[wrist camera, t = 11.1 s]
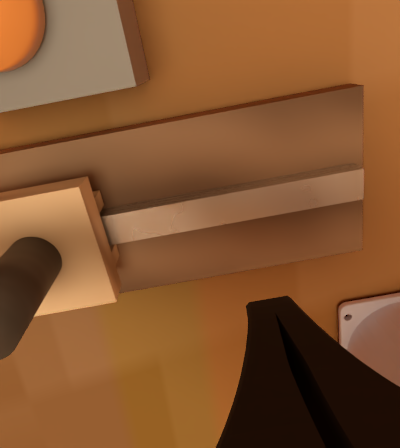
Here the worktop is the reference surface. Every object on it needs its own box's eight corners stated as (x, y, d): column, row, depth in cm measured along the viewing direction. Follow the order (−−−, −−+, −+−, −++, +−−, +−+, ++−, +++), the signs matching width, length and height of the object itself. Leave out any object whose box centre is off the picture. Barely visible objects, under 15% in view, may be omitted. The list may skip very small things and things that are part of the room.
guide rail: (353, 191, 19) (363, 199, 18) (-27, 260, 20) (-39, 272, 19) (353, 162, 19) (364, 168, 18) (-40, 234, 19) (-53, 245, 18)
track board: (351, 238, 22) (362, 250, 21) (3, 300, 23) (-9, 315, 22) (350, 83, 19) (363, 85, 17) (-64, 162, 19) (-83, 170, 18)
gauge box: (149, 79, 18) (136, 86, 13) (-6, 109, 18) (-86, 129, 13) (114, -84, 15) (77, -165, 10) (-68, -47, 16) (-201, -106, 10)
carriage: (124, 271, 20) (94, 383, 13) (20, 290, 21) (-65, 410, 13) (93, 169, 18) (35, 238, 11) (-25, 191, 18) (-157, 274, 11)
